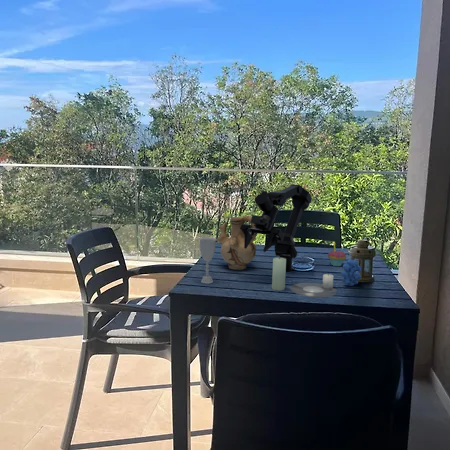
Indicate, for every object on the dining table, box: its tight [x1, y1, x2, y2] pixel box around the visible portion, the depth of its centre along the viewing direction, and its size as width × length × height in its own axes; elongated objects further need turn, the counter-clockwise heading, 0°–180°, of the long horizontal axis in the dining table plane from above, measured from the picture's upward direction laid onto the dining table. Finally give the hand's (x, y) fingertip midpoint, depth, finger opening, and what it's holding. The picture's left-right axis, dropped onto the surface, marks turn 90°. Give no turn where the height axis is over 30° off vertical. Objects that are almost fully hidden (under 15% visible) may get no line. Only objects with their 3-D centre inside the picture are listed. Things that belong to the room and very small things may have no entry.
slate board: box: [289, 282, 338, 298], centre depth 178 cm, size 18×18×1 cm
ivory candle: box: [322, 273, 334, 289], centre depth 180 cm, size 4×4×6 cm
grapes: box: [340, 258, 362, 287], centre depth 184 cm, size 12×7×12 cm, turn 128°
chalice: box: [198, 236, 217, 284], centre depth 188 cm, size 7×7×18 cm
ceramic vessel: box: [215, 215, 258, 271], centre depth 210 cm, size 18×19×25 cm
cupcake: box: [327, 240, 347, 267], centre depth 220 cm, size 9×8×12 cm
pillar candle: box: [271, 256, 287, 292], centre depth 177 cm, size 5×5×14 cm
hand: (254, 249), depth 186 cm, fingers open, 9 cm apart
